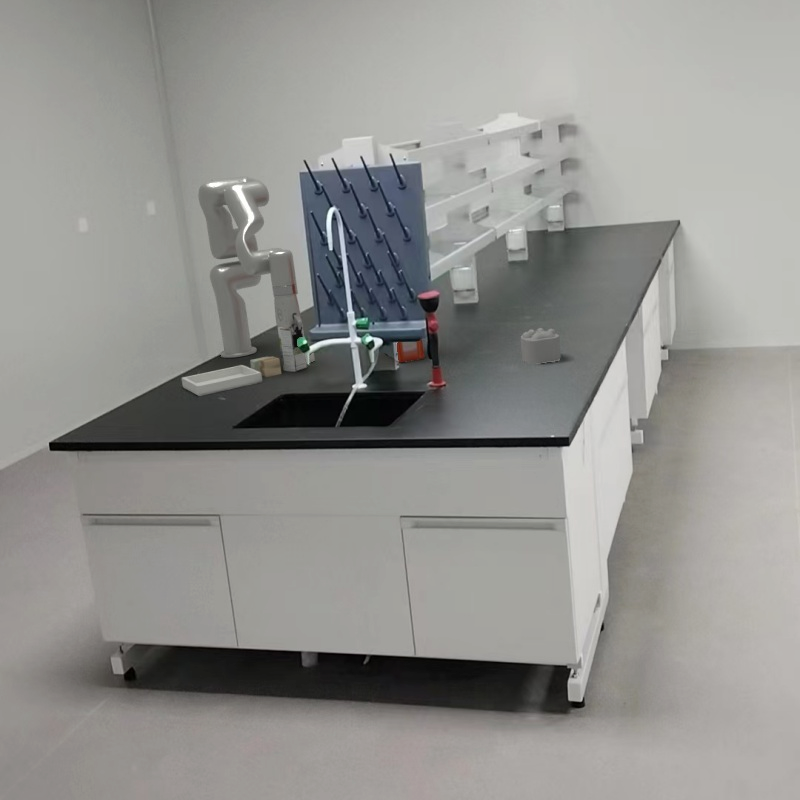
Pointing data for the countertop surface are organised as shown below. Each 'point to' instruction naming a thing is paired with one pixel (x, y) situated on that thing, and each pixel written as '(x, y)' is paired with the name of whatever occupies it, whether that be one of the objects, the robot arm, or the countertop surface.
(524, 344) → the lumpy-topped squat cylinder
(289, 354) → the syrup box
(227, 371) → the grey tray
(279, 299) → the robot arm
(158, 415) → the countertop surface
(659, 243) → the countertop surface
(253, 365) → the sage block
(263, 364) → the beech cube
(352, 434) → the countertop surface
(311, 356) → the pale grey block
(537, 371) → the countertop surface
